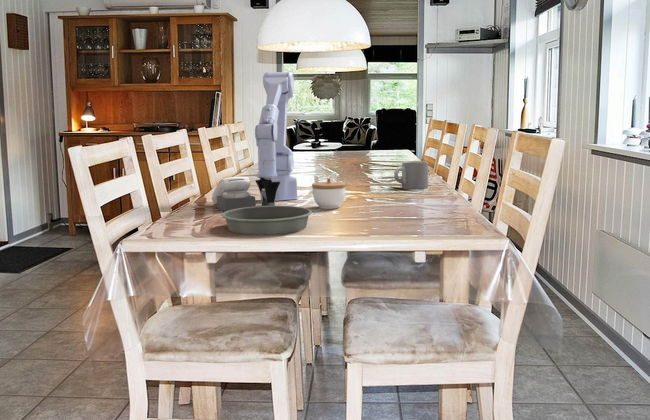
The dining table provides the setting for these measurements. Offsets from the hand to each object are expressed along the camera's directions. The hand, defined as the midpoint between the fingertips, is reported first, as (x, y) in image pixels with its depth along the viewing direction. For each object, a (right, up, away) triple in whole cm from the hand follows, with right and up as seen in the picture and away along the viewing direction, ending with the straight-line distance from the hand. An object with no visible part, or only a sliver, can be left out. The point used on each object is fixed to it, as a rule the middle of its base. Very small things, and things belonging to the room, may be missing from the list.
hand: (268, 201), depth 234 cm
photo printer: (-15, +1, +7) cm, 16 cm away
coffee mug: (+52, +6, +42) cm, 67 cm away
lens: (0, -1, 0) cm, 1 cm away
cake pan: (+3, -8, -39) cm, 40 cm away
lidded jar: (+20, -2, -5) cm, 21 cm away
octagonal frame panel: (-10, -2, -4) cm, 11 cm away
